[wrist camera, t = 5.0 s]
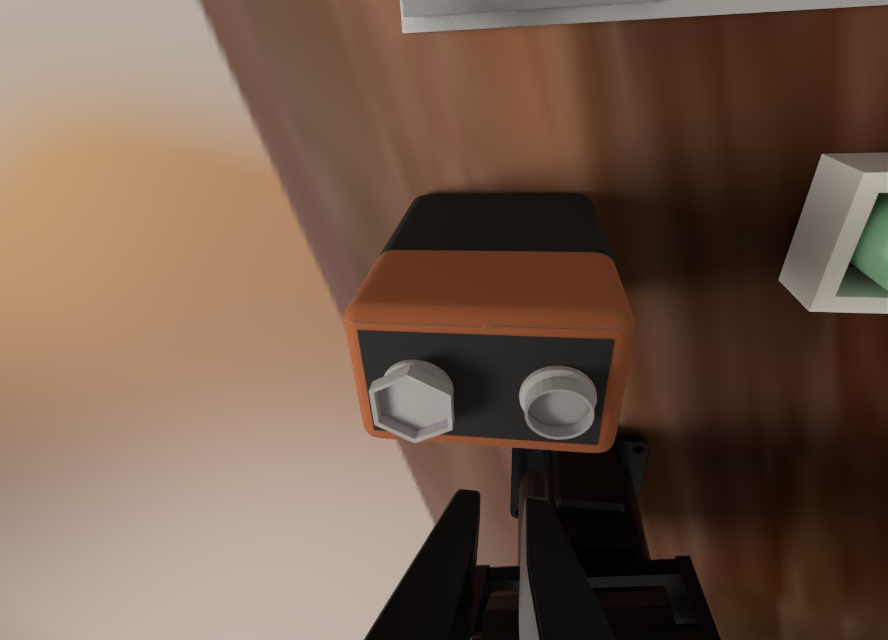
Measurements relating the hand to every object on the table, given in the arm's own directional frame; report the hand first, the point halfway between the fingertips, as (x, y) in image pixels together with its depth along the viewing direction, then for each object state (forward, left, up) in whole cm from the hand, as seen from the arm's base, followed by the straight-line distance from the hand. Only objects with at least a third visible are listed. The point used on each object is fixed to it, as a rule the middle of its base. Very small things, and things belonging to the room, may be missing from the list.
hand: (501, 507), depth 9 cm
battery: (0, +1, -13) cm, 13 cm away
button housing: (+1, -12, -12) cm, 18 cm away
